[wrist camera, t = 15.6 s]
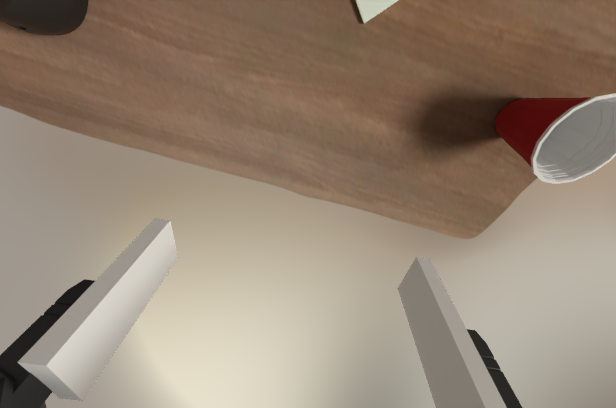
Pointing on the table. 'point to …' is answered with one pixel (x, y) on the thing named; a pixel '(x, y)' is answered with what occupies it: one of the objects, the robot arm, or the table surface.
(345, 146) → the table surface
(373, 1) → the card
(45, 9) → the robot arm
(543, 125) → the plastic cup
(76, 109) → the table surface
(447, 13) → the table surface
